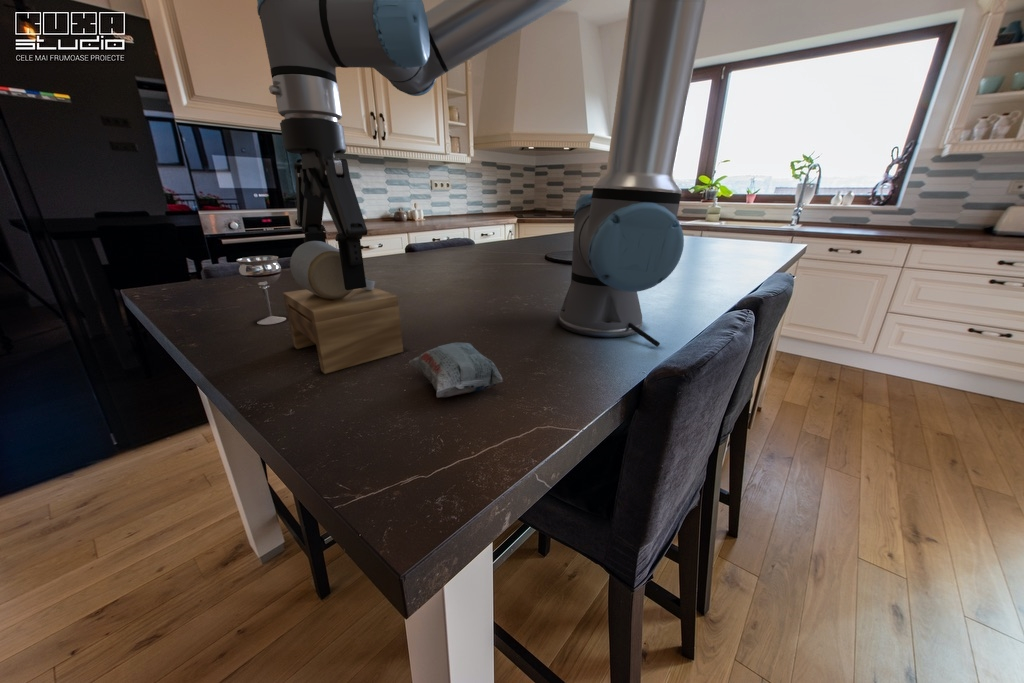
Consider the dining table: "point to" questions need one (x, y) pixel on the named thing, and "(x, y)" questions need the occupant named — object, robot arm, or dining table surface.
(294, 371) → the dining table surface
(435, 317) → the dining table surface
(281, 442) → the dining table surface
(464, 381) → the packaged food
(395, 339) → the oak stool
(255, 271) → the wineglass
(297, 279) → the ceramic mug
